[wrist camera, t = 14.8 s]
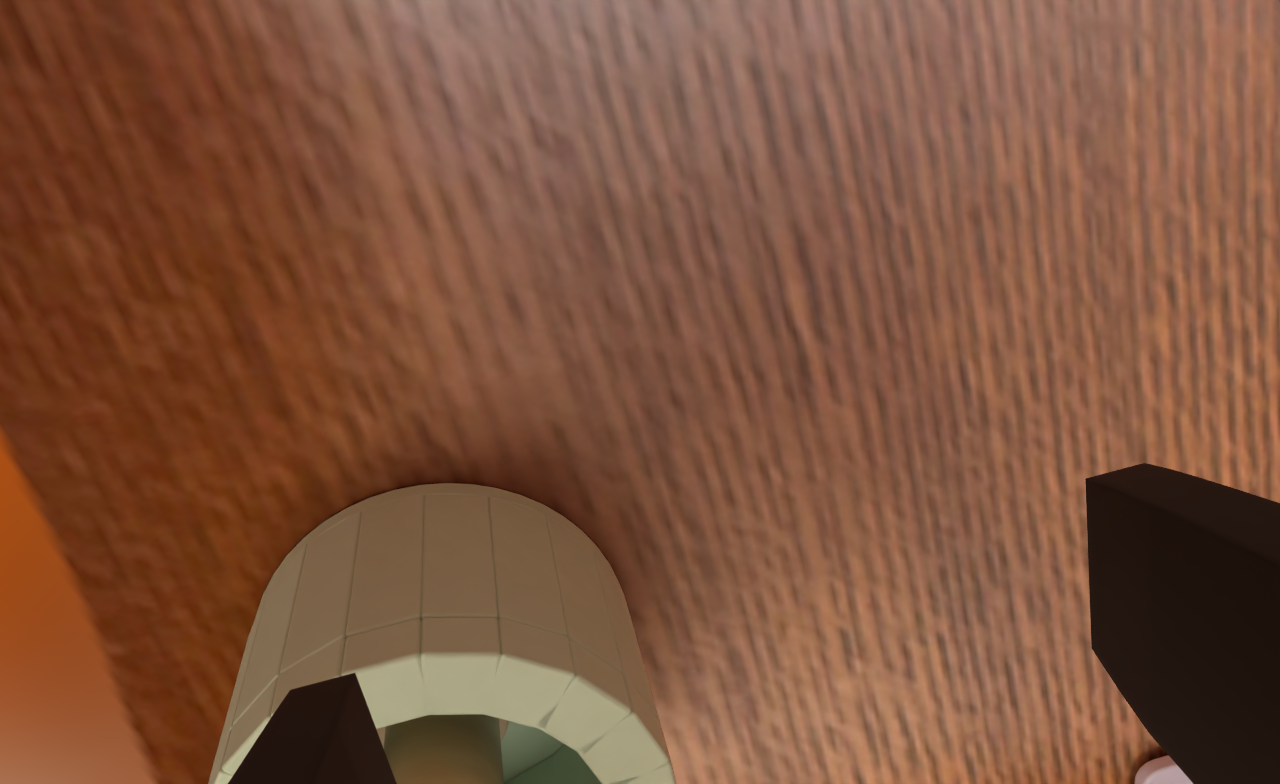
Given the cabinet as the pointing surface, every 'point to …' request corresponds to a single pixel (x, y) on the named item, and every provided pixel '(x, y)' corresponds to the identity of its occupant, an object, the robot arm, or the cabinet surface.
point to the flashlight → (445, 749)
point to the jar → (460, 633)
